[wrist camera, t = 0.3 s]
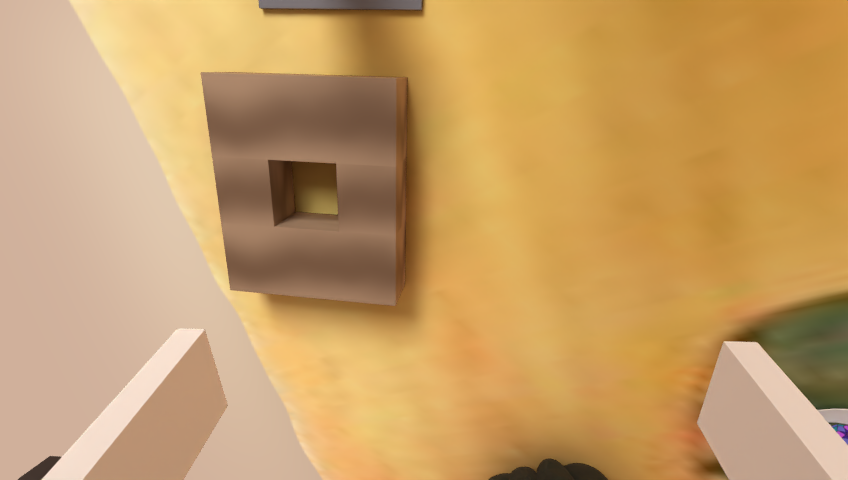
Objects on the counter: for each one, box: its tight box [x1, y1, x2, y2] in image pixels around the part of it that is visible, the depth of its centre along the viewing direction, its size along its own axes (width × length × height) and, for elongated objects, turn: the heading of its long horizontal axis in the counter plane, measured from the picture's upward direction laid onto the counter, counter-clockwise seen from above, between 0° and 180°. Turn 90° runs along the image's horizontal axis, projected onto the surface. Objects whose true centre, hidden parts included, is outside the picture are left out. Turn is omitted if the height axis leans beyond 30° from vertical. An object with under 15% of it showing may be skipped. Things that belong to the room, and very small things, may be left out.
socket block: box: [201, 72, 407, 306], centre depth 36 cm, size 17×14×4 cm
